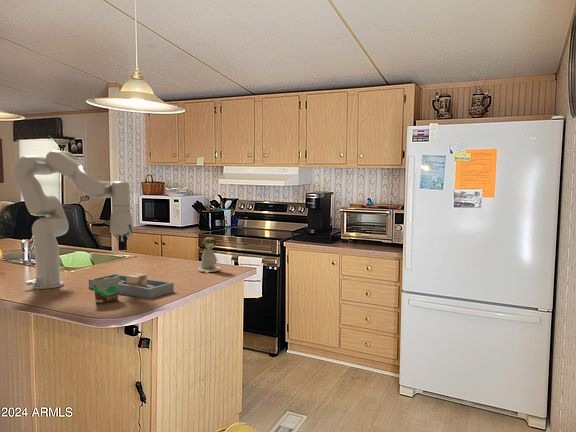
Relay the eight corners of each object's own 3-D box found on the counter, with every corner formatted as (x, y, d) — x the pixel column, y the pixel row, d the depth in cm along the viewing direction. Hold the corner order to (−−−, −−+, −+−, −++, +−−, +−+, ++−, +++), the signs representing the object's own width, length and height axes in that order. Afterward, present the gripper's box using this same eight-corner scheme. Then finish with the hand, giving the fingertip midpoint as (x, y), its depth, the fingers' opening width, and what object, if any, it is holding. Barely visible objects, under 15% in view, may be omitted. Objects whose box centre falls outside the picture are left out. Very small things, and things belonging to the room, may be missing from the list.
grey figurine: (196, 273, 236) (195, 238, 235) (200, 268, 249) (200, 235, 248) (218, 273, 236) (218, 238, 235) (222, 268, 249) (222, 235, 248)
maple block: (136, 288, 193) (136, 277, 192) (126, 286, 196) (126, 275, 195) (146, 285, 198) (146, 274, 198) (137, 284, 201) (137, 273, 201)
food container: (105, 306, 172) (104, 280, 171) (92, 304, 174) (92, 279, 174) (127, 298, 184) (127, 274, 183) (115, 297, 186) (115, 273, 185)
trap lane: (149, 298, 184) (149, 289, 183) (88, 287, 202) (88, 279, 202) (173, 291, 196) (173, 282, 196) (114, 282, 214) (114, 273, 214)
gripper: (102, 209, 199) (104, 250, 200) (126, 210, 192) (127, 252, 193) (116, 208, 206) (118, 248, 207) (139, 209, 198) (141, 250, 200)
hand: (122, 250), depth 200 cm, fingers closed
